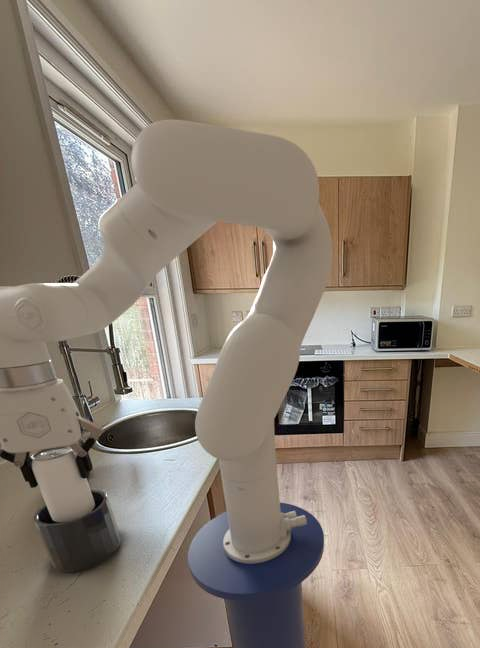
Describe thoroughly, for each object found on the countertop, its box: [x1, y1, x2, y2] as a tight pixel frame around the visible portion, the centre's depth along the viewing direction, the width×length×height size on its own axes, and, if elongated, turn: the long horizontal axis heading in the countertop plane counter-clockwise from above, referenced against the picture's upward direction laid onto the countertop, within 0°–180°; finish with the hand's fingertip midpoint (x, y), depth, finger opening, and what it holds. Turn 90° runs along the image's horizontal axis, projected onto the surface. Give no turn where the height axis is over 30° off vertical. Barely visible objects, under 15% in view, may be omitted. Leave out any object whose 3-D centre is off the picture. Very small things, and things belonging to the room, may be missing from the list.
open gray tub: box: [33, 489, 122, 574], centre depth 63 cm, size 11×11×10 cm
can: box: [30, 446, 95, 523], centre depth 59 cm, size 6×6×12 cm
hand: (62, 478), depth 59 cm, fingers closed on can, 6 cm apart
